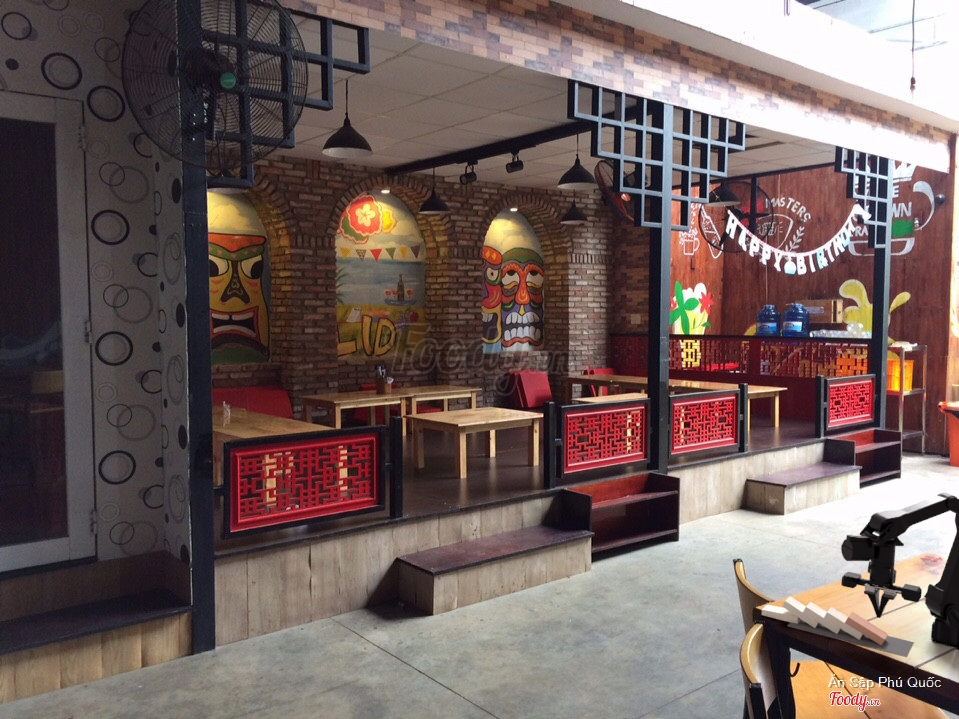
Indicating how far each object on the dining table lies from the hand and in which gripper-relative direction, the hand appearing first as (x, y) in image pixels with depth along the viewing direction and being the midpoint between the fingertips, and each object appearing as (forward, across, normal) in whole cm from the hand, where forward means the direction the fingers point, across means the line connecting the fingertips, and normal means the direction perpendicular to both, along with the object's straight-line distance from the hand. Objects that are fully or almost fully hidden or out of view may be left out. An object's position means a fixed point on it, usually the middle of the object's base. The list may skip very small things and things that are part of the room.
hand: (878, 617), depth 211 cm
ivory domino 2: (+6, +15, 0) cm, 16 cm away
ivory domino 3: (+6, +9, 0) cm, 11 cm away
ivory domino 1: (+6, +20, 0) cm, 21 cm away
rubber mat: (+7, +7, 0) cm, 10 cm away
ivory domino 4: (+6, +4, 0) cm, 7 cm away
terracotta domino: (+6, -2, 0) cm, 6 cm away
